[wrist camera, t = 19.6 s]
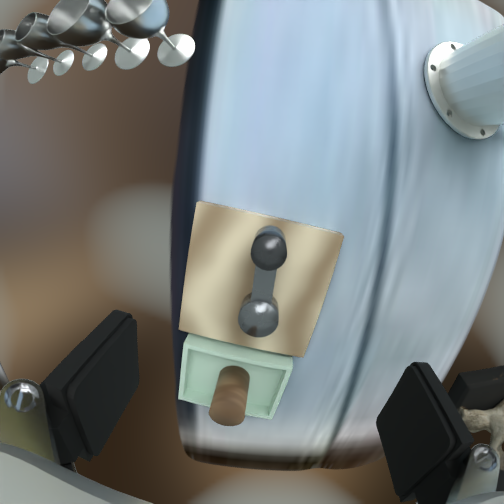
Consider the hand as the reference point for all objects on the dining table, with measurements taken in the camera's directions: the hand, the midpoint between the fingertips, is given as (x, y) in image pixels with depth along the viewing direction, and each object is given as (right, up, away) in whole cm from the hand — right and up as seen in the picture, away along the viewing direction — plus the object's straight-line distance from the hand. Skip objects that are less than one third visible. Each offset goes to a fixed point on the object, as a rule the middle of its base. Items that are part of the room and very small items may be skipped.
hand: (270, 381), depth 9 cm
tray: (-3, -12, +27) cm, 30 cm away
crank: (+1, +2, +21) cm, 21 cm away
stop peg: (-3, -12, +26) cm, 29 cm away
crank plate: (0, +1, +23) cm, 23 cm away
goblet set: (-20, +28, +17) cm, 39 cm away
